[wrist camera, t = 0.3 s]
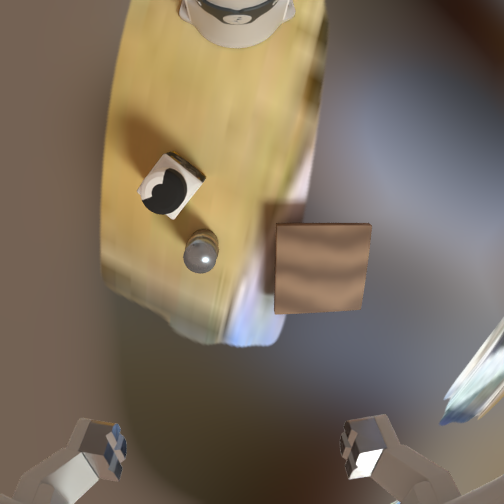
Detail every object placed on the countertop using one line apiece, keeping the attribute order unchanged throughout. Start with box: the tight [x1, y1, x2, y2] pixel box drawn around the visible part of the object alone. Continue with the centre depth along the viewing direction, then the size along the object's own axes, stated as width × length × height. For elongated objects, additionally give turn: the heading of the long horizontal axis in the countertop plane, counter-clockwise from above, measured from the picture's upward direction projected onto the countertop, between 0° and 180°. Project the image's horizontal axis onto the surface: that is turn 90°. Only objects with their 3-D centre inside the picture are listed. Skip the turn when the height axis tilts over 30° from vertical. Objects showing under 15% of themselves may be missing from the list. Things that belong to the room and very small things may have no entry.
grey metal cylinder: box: [183, 229, 219, 273], centre depth 52 cm, size 5×5×7 cm
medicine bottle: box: [137, 151, 206, 219], centre depth 46 cm, size 7×7×12 cm
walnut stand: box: [274, 223, 372, 314], centre depth 56 cm, size 16×16×4 cm
